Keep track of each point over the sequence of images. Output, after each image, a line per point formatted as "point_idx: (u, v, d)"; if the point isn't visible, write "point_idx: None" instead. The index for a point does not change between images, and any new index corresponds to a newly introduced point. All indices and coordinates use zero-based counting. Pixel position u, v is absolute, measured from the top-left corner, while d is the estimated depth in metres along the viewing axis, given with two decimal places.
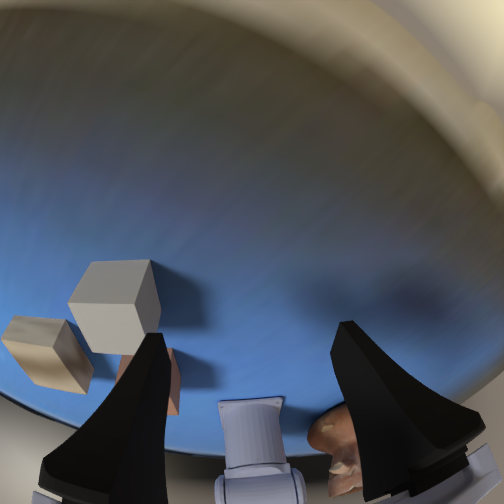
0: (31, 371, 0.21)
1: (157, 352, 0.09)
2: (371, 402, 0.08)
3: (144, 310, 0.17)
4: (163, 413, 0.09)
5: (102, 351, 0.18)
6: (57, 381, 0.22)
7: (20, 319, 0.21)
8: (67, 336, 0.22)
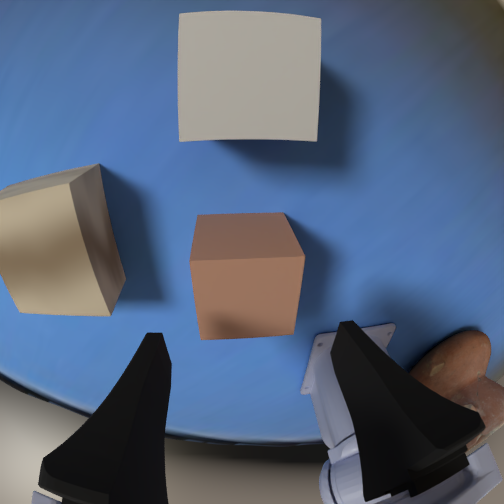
0: (15, 277, 0.12)
1: (157, 352, 0.09)
2: (371, 402, 0.08)
3: None
4: (163, 413, 0.09)
5: (206, 134, 0.09)
6: (58, 290, 0.13)
7: (17, 184, 0.13)
8: (95, 191, 0.13)
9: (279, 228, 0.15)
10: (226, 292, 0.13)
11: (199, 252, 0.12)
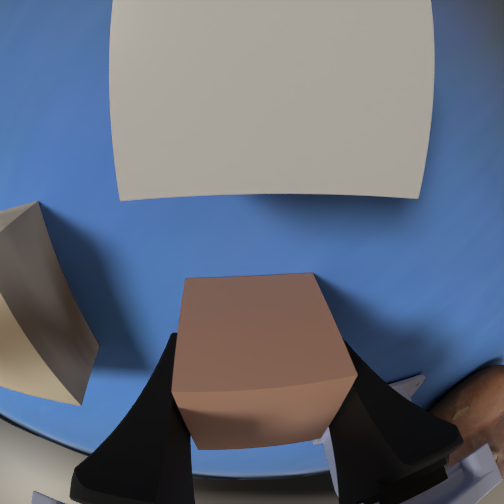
0: None
1: None
2: (344, 409, 0.08)
3: None
4: None
5: (181, 182, 0.04)
6: (14, 372, 0.08)
7: None
8: (34, 244, 0.08)
9: (312, 311, 0.09)
10: (231, 418, 0.07)
11: (186, 371, 0.07)
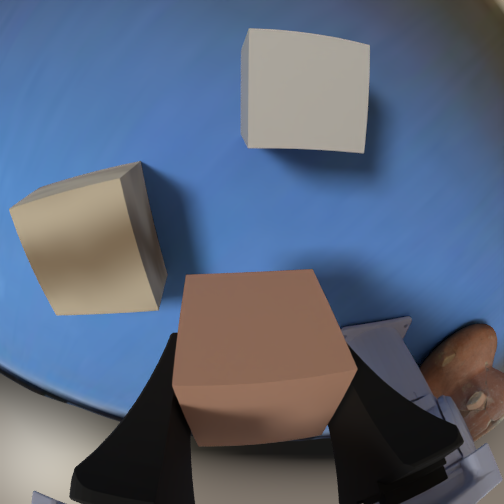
0: (53, 278, 0.14)
1: None
2: (344, 409, 0.08)
3: None
4: None
5: (273, 143, 0.10)
6: (103, 288, 0.15)
7: (51, 185, 0.14)
8: (140, 187, 0.15)
9: (312, 306, 0.09)
10: (232, 413, 0.07)
11: (187, 366, 0.07)
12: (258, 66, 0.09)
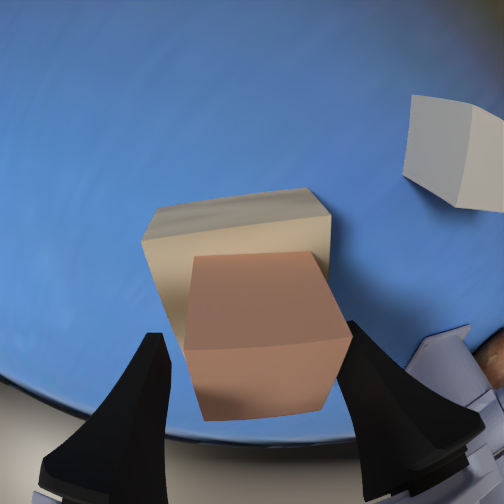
0: None
1: (157, 352, 0.09)
2: (371, 402, 0.08)
3: None
4: (163, 413, 0.09)
5: (468, 204, 0.10)
6: None
7: (184, 207, 0.14)
8: None
9: (310, 283, 0.10)
10: (238, 381, 0.08)
11: (197, 333, 0.08)
12: (473, 140, 0.09)
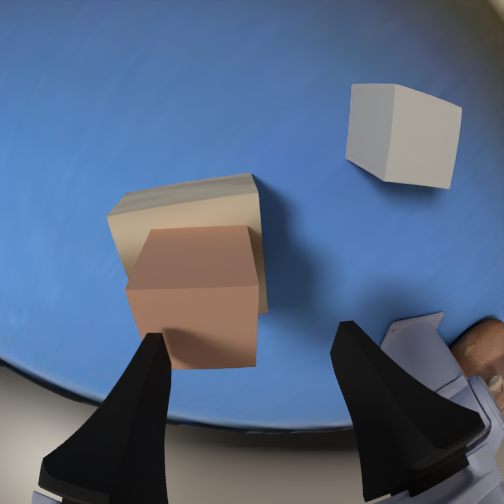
0: None
1: (157, 352, 0.09)
2: (371, 402, 0.08)
3: None
4: (163, 413, 0.09)
5: (399, 178, 0.12)
6: None
7: (146, 191, 0.16)
8: None
9: (237, 247, 0.12)
10: (170, 324, 0.11)
11: (137, 279, 0.10)
12: (398, 117, 0.11)
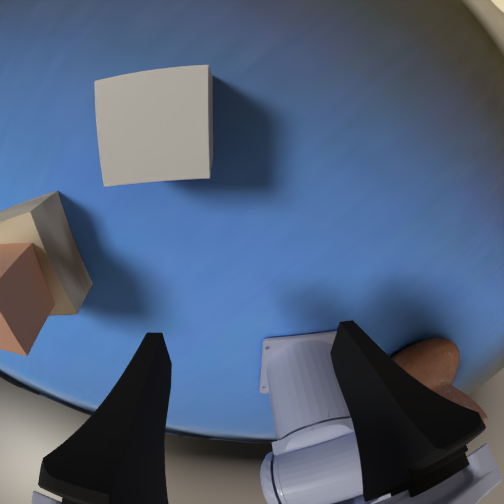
0: None
1: (157, 352, 0.09)
2: (371, 402, 0.08)
3: (209, 102, 0.11)
4: (163, 413, 0.09)
5: (122, 180, 0.11)
6: None
7: (0, 212, 0.15)
8: (56, 213, 0.15)
9: (8, 261, 0.11)
10: None
11: None
12: (103, 114, 0.10)
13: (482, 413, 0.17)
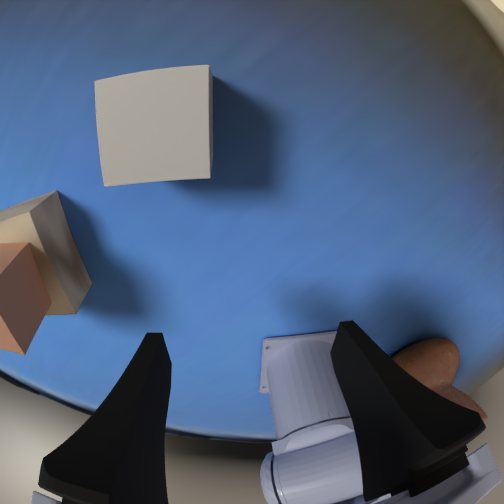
0: None
1: (157, 352, 0.09)
2: (371, 402, 0.08)
3: None
4: (163, 413, 0.09)
5: (122, 180, 0.11)
6: None
7: (0, 212, 0.15)
8: (55, 213, 0.15)
9: (5, 261, 0.11)
10: None
11: None
12: (103, 114, 0.10)
13: (482, 413, 0.17)
